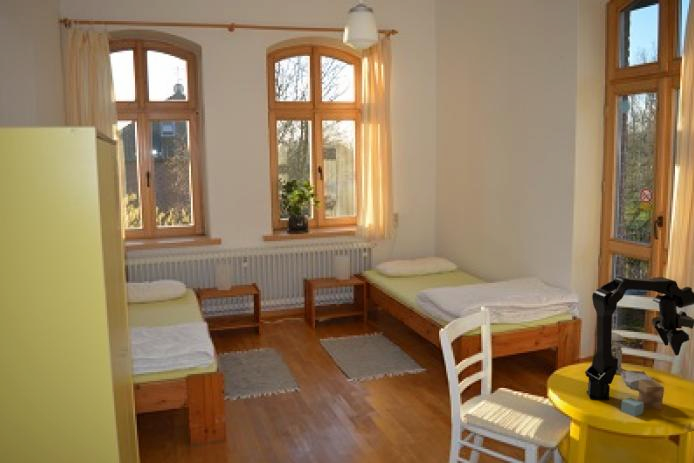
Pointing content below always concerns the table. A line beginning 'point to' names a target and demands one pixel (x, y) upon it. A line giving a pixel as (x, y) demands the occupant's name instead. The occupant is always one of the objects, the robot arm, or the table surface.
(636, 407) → the slate block
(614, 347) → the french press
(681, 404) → the table surface
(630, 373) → the stone block
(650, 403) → the tower base
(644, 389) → the tower mid
